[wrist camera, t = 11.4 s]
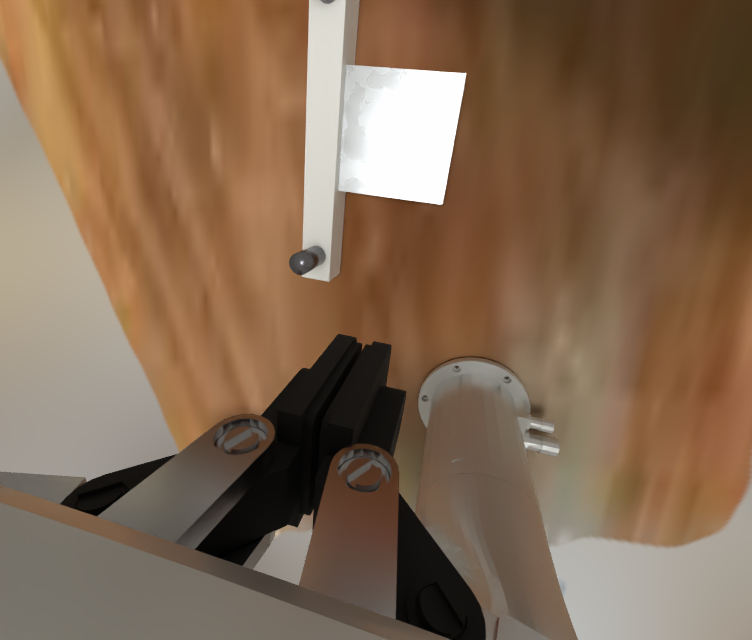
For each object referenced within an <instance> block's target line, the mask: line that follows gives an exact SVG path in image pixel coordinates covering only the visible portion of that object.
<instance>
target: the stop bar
mask: <svg viewBox="0 0 752 640" xmlns="http://www.w3.org/2000/svg"><path fill="white" fill-rule="evenodd" d="M358 14H359V0H309V33H308V70H307V107H306V144H305V182H304V219H303V250H302V251H300V252H298V253H296V254H293V255H292V256H291V258H290V261H289V264H290V268H291V269H292V271H293V272H294V273H296V274H298V275H302V277H306V278H312V279H317V280H323V281H328V282H329V281H330V280H332V279H333V278H334V277H336V276H337V275H338V274H340V264H341V250H342V236H343V222H344V209H345V195H346V192H345V191H338V182H339V166H340V151H341V135H342V120H343V105H344V89H345V74H346V65H355V56H356V42H357V28H358Z"/></svg>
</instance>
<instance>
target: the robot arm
mask: <svg viewBox="0 0 752 640" xmlns="http://www.w3.org/2000/svg"><path fill="white" fill-rule="evenodd" d="M361 351H362V352H361ZM390 355H391V345H389V344H384V343H380V342H375V341H374V342H373V343H372V345H367V344H366V345H365V347H364V349H363V350H362V344H361V343H357V339H356V337H351V336H346V335H341V334H338V335H337V336H336V338H335V339H334V340H333V341H332V342H331V344H330V345H329V346H328V347H327V349H326V350H325V351H324V352H323V354H322V355H321V356H320V357H319V359H318V360H317V361H316V362H315V364H314V365H313V366H312V367H311V368H310V369H307V368H302V369H301V370H300V371H299V372H298V373H297V374H296V375H295V377H294V378H293V379H292V380H291V381H290V382H289V384H288V385H287V386H286V387H285V388H284V389H283V391H282V392H281V393H280V394H279V395H278V396H277V398H276V399H275V400H274V401H273V402H272V404H271V405H270V406H269V407H268V408H267V409H266V411H265V412H264V413H263V414H262V415H261V416H258V415H254V414H242V415H236V416H232V417H229V418H227V419H224V420H222V421H221V422H219V423H217V424H216V425H215V426H213V427H212V428H211V429H209V430H208V431H207V432H205V433H204V434H203V435H202V436H200V437H199V438H198V439H196V440H195V441H194V442H193V443H191V444H190V445H189V446H187V447H186V448H185V449H183V450H182V451H181V452H180V453H178V454H176V455H172V456H169V457H165V458H162V459H158V460H155V461H151V462H147V463H144V464H140V465H137V466H133V467H130V468H127V469H123V470H119V471H116V472H112V473H109V474H105V475H103V476H100V477H98V478H95V479H92V480H90V481H88V482H86V479H85V478H84V477H70V476H55V475H40V474H25V473H11V472H0V640H578V638H577V636H576V633H575V631H574V628H573V625H572V622H571V619H570V617H569V613H568V611H567V608H566V605H565V602H564V599H563V596H562V592H561V589H560V586H559V582H558V579H557V575H556V571H555V568H554V564H553V561H552V557H551V553H550V550H549V546H548V541H547V537H546V533H545V529H544V525H543V521H542V516H541V512H540V508H539V503H538V499H537V495H536V491H535V486H534V482H533V478H532V474H531V469H530V465H529V461H528V457H527V452H526V451H527V449H528V450H532V451H536V452H538V453H541V454H545V455H549V456H553V457H556V456H557V455H558V453H559V448H560V444H559V440H558V439H555V438H551V437H547V436H543V435H535V434H531V433H529V431H528V430H529V428H532V429H536V430H538V431H542V432H546V433H552V432H553V430H554V422H553V420H548V419H544V418H537V417H532V416H531V414H530V401H529V397H528V394H527V391H526V389H525V387H524V385H523V383H522V382H521V381H520V379H519V378H518V377H517V376H516V375H515V374H514V373H513V372H512V371H511V370H509V369H508V368H506V367H504V366H503V365H501V364H499V363H496V362H494V361H491V360H488V359H483V358H473V357H466V358H458V359H454V360H451V361H448V362H445V363H443V364H442V365H440V366H438V367H437V368H435V369H434V370H433V371H431V372H430V374H429V375H428V376H427V377H426V378H425V380H424V382H423V384H422V386H421V388H420V392H419V398H418V410H419V414H420V417H421V420H422V422H423V423H424V425H425V427H426V428H427V434H426V441H425V448H424V455H423V462H422V469H421V476H420V483H419V490H418V497H417V505H416V512H415V513H414V512H413V511H412V509H411V508H410V507H409V505H408V504H407V503H406V501H405V500H404V499H403V497H402V496H401V494H400V493H399V471H398V465H397V463H396V462H395V460H394V458H393V455H394V451H395V447H396V443H397V439H398V434H399V430H400V425H401V420H402V415H403V409H404V404H405V398H406V391H403V390H399V389H394V388H390V387H386V382H387V375H388V368H389V361H390ZM455 366H458V367H455ZM506 376H508V377H506ZM425 395H426V396H425ZM313 509H314V514H313V532H312V537H311V541H310V545H309V548H308V552H307V556H306V560H305V564H304V567H303V571H302V575H301V579H300V583H299V586H298V585H295V584H292V583H289V582H287V581H284V580H281V579H278V578H275V577H272V576H269V575H267V574H264V573H261V572H258V571H255V570H253V568H254V567H255V565H256V564H257V563H258V561H259V560H260V558H261V557H262V556H263V554H264V553H265V551H266V550H267V548H268V547H269V546H270V544H271V542H272V540H273V538H274V536H275V530H278V529H280V528H282V527H284V526H287V524H288V525H291V526H295V527H298V525H299V523H300V521H301V519H302V517H303V515H304V514H306V515H311V513H312V511H313Z"/></svg>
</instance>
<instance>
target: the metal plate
mask: <svg viewBox="0 0 752 640" xmlns="http://www.w3.org/2000/svg"><path fill="white" fill-rule="evenodd" d="M465 83H466V74H465V73H452V72H438V71H425V70H411V69H397V68H384V67H370V66H357V65H346V74H345V89H344V105H343V120H342V135H341V151H340V166H339V182H338V191H345V192H352V193H360V194H367V195H374V196H382V197H389V198H396V199H404V200H411V201H418V202H426V203H433V204H440V205H442V204H443V203H444V198H445V193H446V187H447V182H448V176H449V171H450V165H451V160H452V154H453V149H454V143H455V138H456V132H457V127H458V121H459V116H460V110H461V105H462V99H463V94H464V88H465Z"/></svg>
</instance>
